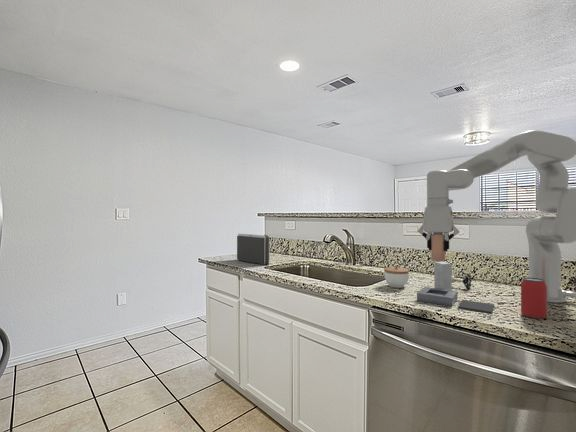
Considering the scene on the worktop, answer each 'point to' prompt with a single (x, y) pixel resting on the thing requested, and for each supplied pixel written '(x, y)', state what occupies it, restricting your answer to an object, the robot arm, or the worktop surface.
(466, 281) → the valve
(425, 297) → the housing
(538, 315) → the beer can
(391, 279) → the lidded jar
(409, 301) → the worktop surface
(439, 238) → the tan tall block
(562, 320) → the worktop surface
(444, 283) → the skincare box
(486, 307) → the mat
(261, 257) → the dark grey box
